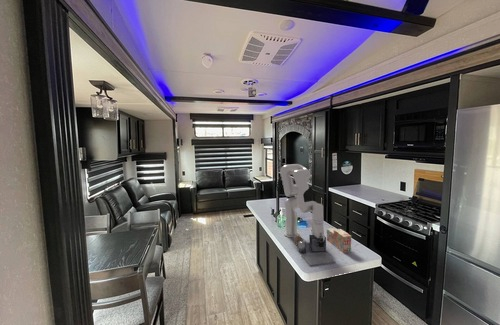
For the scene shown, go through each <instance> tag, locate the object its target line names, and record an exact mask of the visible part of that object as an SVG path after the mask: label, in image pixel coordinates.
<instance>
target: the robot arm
mask: <svg viewBox="0 0 500 325" xmlns="http://www.w3.org/2000/svg"><path fill="white" fill-rule="evenodd" d="M279 173H280V177H281V180H282V184H283V186H282V187H283V191H284V195H285V196H286V197H289V198H287V199H285V200H284V203H283V205H284V208H285V209H284V211H285V231H284V232H283V235H284V236H285V237H287V238H294V237H300V232H298V214H297V212H296V209H299V210H300V212H302V213H303V214H307V213H311V216H312V222H311V235H314V236H315V237H316V238H319V241H320V242H319V247H324V240H325V237H326V236H325V231H324V205H323V204H322V203H318V202H317V201H314V200H310V201H305V198H304V194H305V192H306V191H308V190H309V188H310V186H309V183H308V181H307V180H309V179H310V178H311V176H312V175H311V172H310V170H309V169H308V168H307V167H305V166H303V165H302V164H299V163H292V164H284V165H283V166H281V168H280V171H279ZM291 175H292V176H293V178H292V177H291ZM293 179H294V180H293ZM294 182H295V183H294ZM324 236H325V237H324ZM320 238H322V239H320Z"/></svg>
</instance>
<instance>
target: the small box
mask: <svg viewBox="0 0 500 325" xmlns="http://www.w3.org/2000/svg"><path fill="white" fill-rule="evenodd" d="M324 237H325V240H324V247H319V242H320V241H319V238H316V237H315V236H314V235H313V234H309V239H308V240H309V243H308V244H309V250H310V251H311V253H318V252H326V253H327V236H326V235H324ZM320 239H322V238H320Z"/></svg>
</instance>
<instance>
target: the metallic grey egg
mask: <svg viewBox="0 0 500 325" xmlns="http://www.w3.org/2000/svg"><path fill="white" fill-rule="evenodd" d="M298 243H299V246H298V253H300V254H306V252H307V251H306V250H307V249H306V245H307V244H306V241H305V240H303V241H299V242H298Z"/></svg>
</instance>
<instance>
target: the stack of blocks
mask: <svg viewBox="0 0 500 325" xmlns="http://www.w3.org/2000/svg"><path fill="white" fill-rule="evenodd" d="M326 241H328V242H329V243H330V244H332V246H334V247H335V248H337V249H338V250H339V251H340V252H342V254H345V253H351V252H352V235H351V234H349V233H348V232H346V231H345V230H344V229H341V228H337V229H336V228H333V227H332V228H327V229H326Z"/></svg>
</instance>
